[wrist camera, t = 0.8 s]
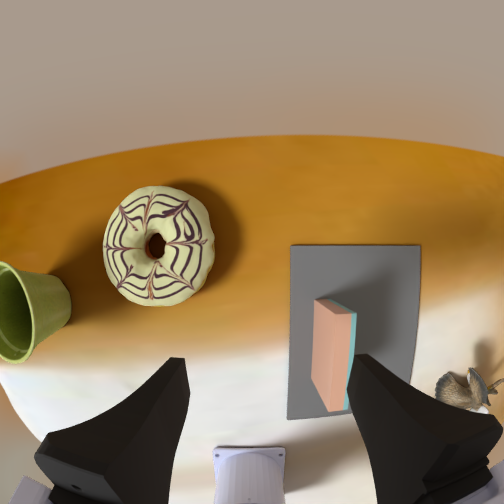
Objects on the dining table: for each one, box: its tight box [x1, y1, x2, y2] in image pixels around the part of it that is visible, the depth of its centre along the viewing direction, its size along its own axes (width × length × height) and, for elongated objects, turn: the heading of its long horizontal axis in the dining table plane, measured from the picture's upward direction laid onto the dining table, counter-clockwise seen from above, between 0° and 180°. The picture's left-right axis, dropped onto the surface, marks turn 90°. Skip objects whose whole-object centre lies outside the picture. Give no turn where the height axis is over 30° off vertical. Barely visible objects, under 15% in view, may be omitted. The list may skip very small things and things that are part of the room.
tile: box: [311, 299, 357, 412], centre depth 23 cm, size 8×2×7 cm, turn 0°
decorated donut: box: [103, 186, 215, 307], centre depth 25 cm, size 10×11×4 cm
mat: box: [287, 246, 420, 420], centre depth 27 cm, size 18×14×1 cm
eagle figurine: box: [435, 368, 504, 414], centre depth 24 cm, size 8×7×9 cm
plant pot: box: [0, 261, 71, 364], centre depth 22 cm, size 9×9×9 cm
